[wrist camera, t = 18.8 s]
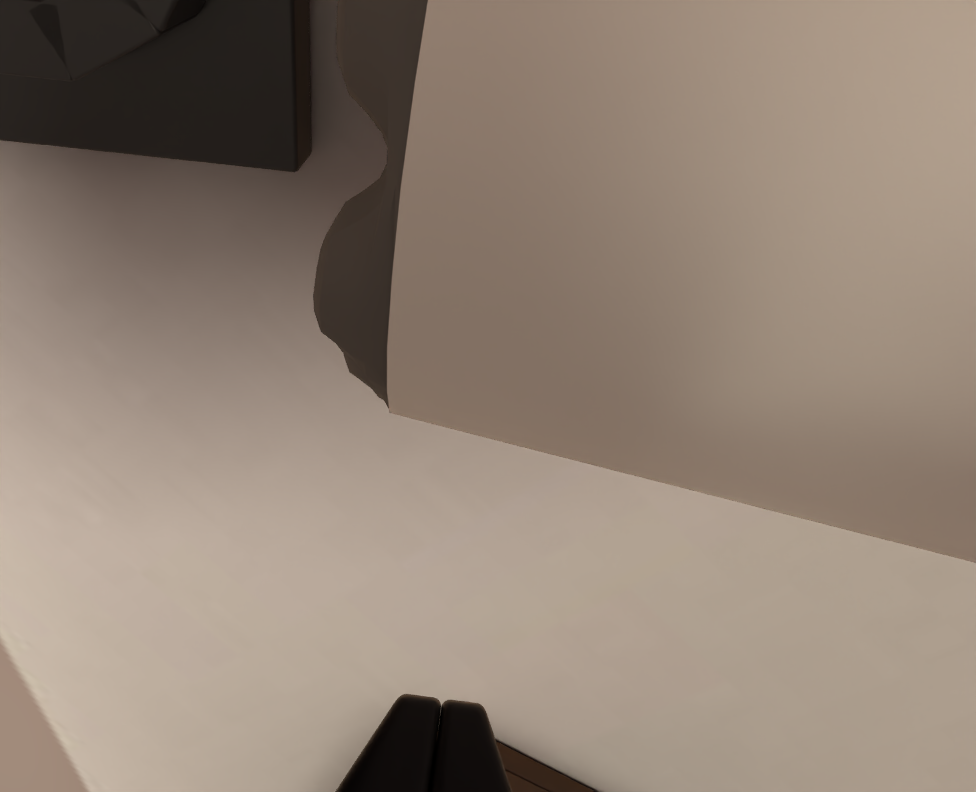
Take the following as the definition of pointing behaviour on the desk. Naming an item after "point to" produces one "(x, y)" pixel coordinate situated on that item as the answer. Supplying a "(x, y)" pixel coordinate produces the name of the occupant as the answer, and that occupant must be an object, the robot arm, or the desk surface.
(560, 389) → the cup
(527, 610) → the desk surface
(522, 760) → the chest
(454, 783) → the robot arm
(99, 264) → the desk surface
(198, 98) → the button block
